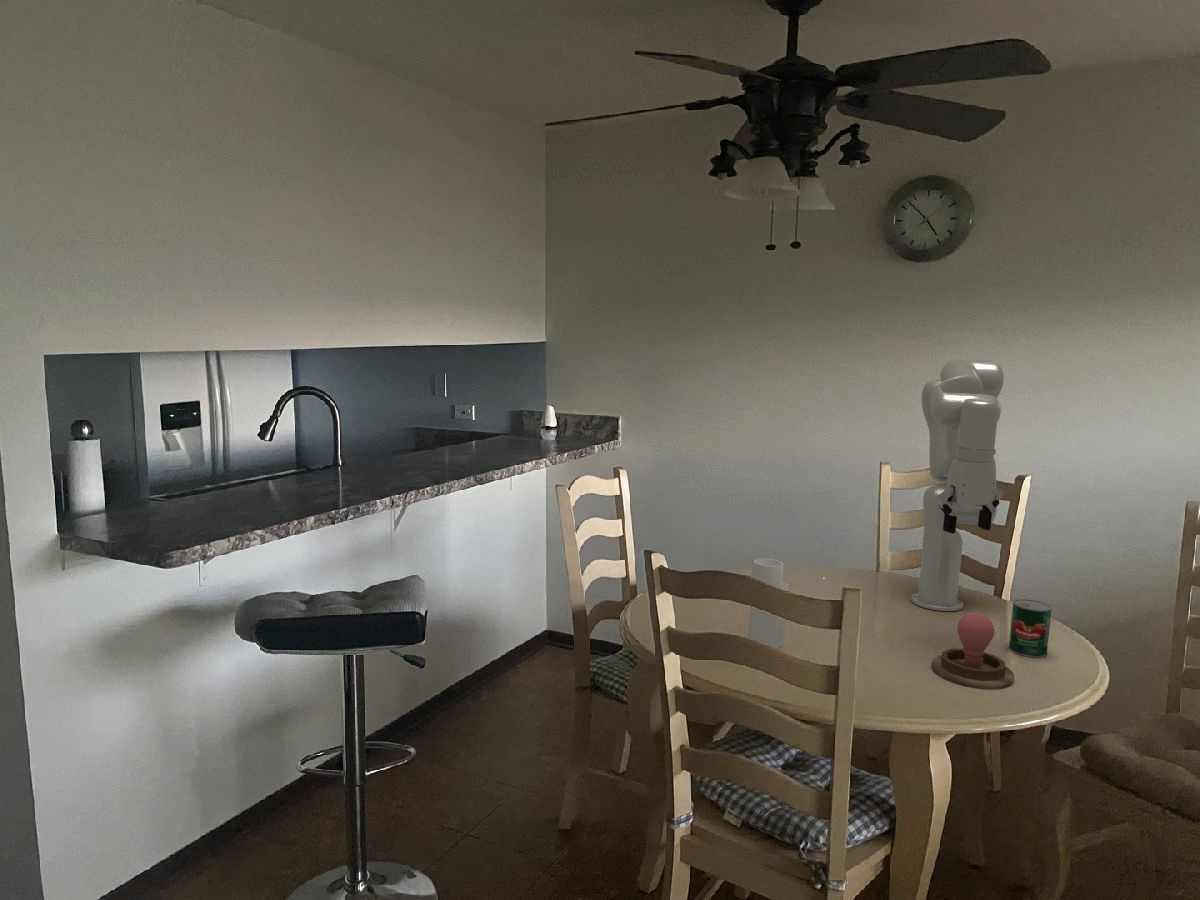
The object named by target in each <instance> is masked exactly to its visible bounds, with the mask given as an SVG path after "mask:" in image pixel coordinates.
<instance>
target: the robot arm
mask: <svg viewBox="0 0 1200 900" xmlns="http://www.w3.org/2000/svg"><path fill="white" fill-rule="evenodd" d="M939 376H940V377H939V379H932V380H929V381H927V382H926V383H925V384H924V385H923V388H922V390H921V391H922V392H921V406H922V407H921V408H922V413H923V416H924V419H925V422H926V425H927V428H928V433H929V473H930V477H931V478H932V479H933V480H934V481H937V482H940V483H946V484H936V485H932V486H930V487H928V488H927V489H926V490H925V492H924V493H923V498H922V504H923V505H922V506H923V537H922V538H923V539H922V551H921V558H920V559H921V560H920V561H921V562H920V572H919V582H918V592H916V593H914V594H912V595H911V602H912V603H913V604H915V605H916V606H919V607H922V608H925V609H928V610H932V611H939V612H955V611H960V610H962V609H963V607H964V602H963V601H962V600H961V599H960V598H958V595H959V594H960V593H963V592H964V589H965V588H964V586H963V585H961V584H959V583H960V582H959V581H960V573H961V566H962V565H961V563H962V562H961V561H962V555H963V553H962V552H963V538H962V536H961V534H960V532H959V531H958V530H957V529H956V528H957V524H966V525H977V527H978V528H980V529H981V530H982V529H983V530H985V531H990V530H991V526H992V523H994V521H995V519H996V516H997V508H998V506H999V505H1000V501H1001V499H1002V497H1003V496H1004V492H1003V491H1002V490H1000V489H999V488H997V465H996V459H995V455H996V453H997V451H996V449H995V445H996V436H997V427H998V426H997V425H998V421H1000V417H1001V414H1002V413H1001V412H1002V411H1001V409H1002V407H1001V402H999V401H998V397H999V395H1000V393H1001V391H1002V389H1003V386H1004V385H1003V384H1004V372H1003V369H1002V367H1001V365H1000V364H999V363H997V362H995V361H993V360H975V359H973V360H972V359H956V360H955V359H954V360H950V361H948V362H947V363H946V364H945V365H944V366H943V367H942V369H941V370H940V374H939Z"/></svg>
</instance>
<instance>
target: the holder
mask: <svg viewBox="0 0 1200 900" xmlns="http://www.w3.org/2000/svg"><path fill="white" fill-rule="evenodd" d="M982 657H983V658H984V659H983V667H981V668H970V667H967V666H966V665H965V653H964V652H963V648H949V649H946V650H943V651H942V652H941V654H940V655H938V656H935V657H934V658H933V659H932V660H931V665H930V666H931V667H932V668H931V670H932V669H933V670H932V671H933V673H935V674H936V675H937V674H938V675H939V676H938V675H937V676H938V677H940V676H941V677H940V678H942V677H943V678H942V679H944V680H946V679H947V680H946V681H948V680H949V681H948V682H951V681H952V682H951V683H953V682H954V683H953V684H956V683H957V685H960V686H965V687H969V688H975V689H980V688H981V690H999V688H1001V689H1005V688H1004V687H1006V688H1008V686H1009V687H1010V686H1012V685H1013V684H1014V682H1015V674H1014V672H1013V671H1012V669H1010V668H1009V667H1007V666H1006V662H1005V661H1004V660H1003V659H1001V658H1000V657H998V656H997V655H995V654H991V653H988V652H985V651H984V655H983V656H982Z"/></svg>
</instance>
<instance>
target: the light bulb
mask: <svg viewBox="0 0 1200 900" xmlns="http://www.w3.org/2000/svg"><path fill="white" fill-rule="evenodd" d="M956 631H957V635H958V637H959V639H960V642H961V645H962V647H963V652H964V653H965V665H966V666H967V667H970V668H981V667H983V659H984V658H983V657H982V656H983V655H984V652H985V650H986V649H987V648H988V646H989V645H990V643H991V642H992V640H993V638H994V637H995V626H994V623H993V622H992V620H991V619H990V617H988V616H987V615H985V614H983V613H980V612H968V613H966V614H964V615H963V616H962V617H960V619H959V621H958V623H957V627H956Z"/></svg>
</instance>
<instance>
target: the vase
mask: <svg viewBox="0 0 1200 900" xmlns="http://www.w3.org/2000/svg"><path fill="white" fill-rule="evenodd" d="M784 566H785V564H784V562H783V561H781V560H777V559H775V558H754V560H752V565H751V579H752V578H755V579H757V580H760V581H762V582H765V583H767V584H770V585H772V586H775V587H777V588H780V589H782V590H785V591H788V592H789V584H788V583H787V582H784ZM748 617H749V618H748V630H747V631H748V634H747V639H748V638H749V639H753V640H756V641H760V642H762V643H765V644H768V645H770V646H772V647H774V648H777V649H778V650H779V648H782V647H784V646H785V642H786V641H785V640H786V623H787V620H786V621H785V620H783V619H781V618H779V617H777V616H775V615H772V614H769V613H766V612H764V611H761V610H757V609H754V608H752V607H750V606H749V615H748Z"/></svg>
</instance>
